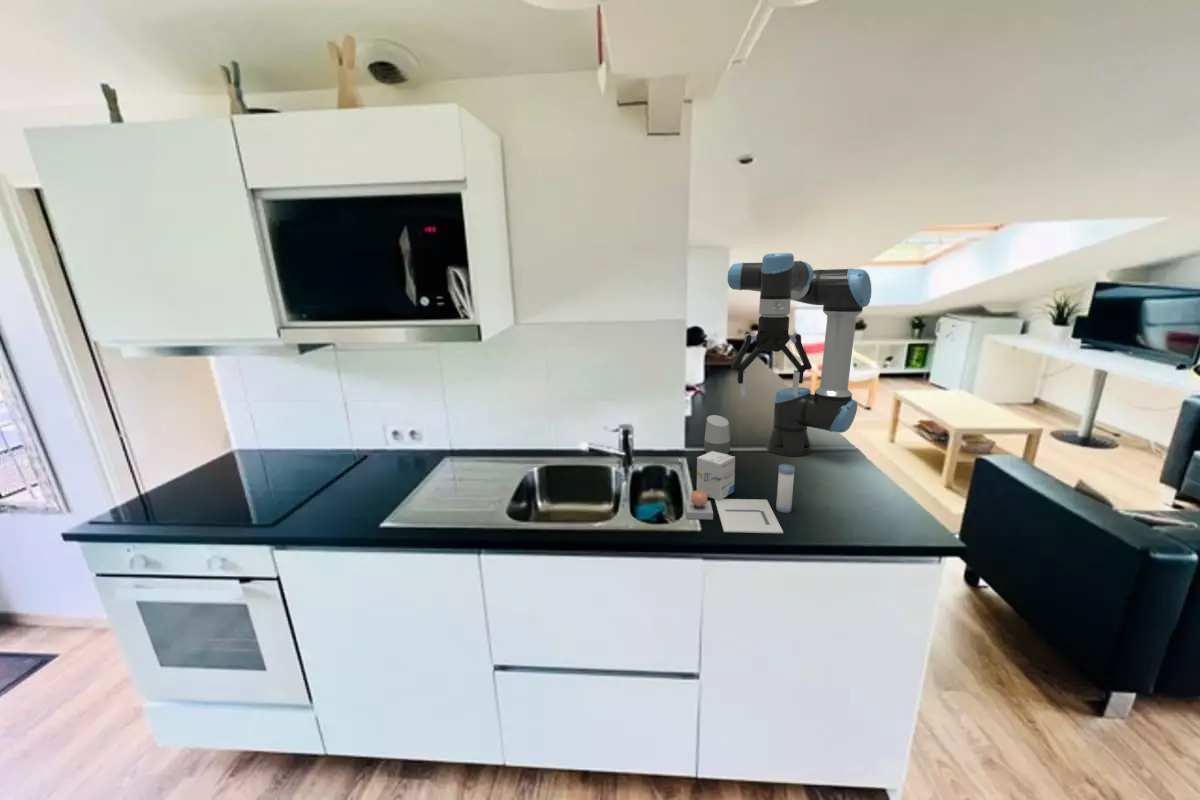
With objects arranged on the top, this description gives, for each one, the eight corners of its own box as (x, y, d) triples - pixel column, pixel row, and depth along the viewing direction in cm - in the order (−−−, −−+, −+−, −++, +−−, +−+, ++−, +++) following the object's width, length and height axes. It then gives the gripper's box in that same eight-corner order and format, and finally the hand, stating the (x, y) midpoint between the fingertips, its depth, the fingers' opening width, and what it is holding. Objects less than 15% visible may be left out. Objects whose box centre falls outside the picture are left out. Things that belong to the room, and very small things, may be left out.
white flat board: (714, 500, 144) (714, 498, 144) (766, 500, 142) (766, 499, 142) (723, 532, 127) (724, 530, 126) (783, 533, 125) (783, 531, 125)
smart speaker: (718, 460, 172) (720, 423, 169) (698, 453, 179) (699, 417, 176) (735, 454, 178) (736, 417, 174) (714, 447, 185) (715, 412, 181)
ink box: (711, 484, 154) (712, 449, 151) (734, 492, 148) (736, 455, 145) (695, 493, 148) (696, 456, 145) (719, 501, 142) (720, 463, 139)
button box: (685, 506, 140) (685, 500, 140) (709, 507, 140) (710, 500, 139) (687, 518, 134) (687, 512, 133) (712, 519, 133) (713, 512, 132)
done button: (690, 504, 139) (690, 490, 137) (705, 504, 138) (706, 490, 137) (691, 511, 134) (691, 497, 133) (707, 511, 134) (708, 497, 133)
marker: (774, 505, 139) (777, 463, 136) (789, 506, 139) (792, 463, 136) (778, 512, 135) (781, 469, 132) (793, 513, 135) (796, 469, 132)
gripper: (727, 317, 123) (723, 398, 128) (829, 316, 120) (821, 398, 126) (722, 315, 130) (719, 391, 135) (819, 313, 127) (812, 391, 133)
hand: (768, 395), depth 131 cm, fingers open, 13 cm apart
